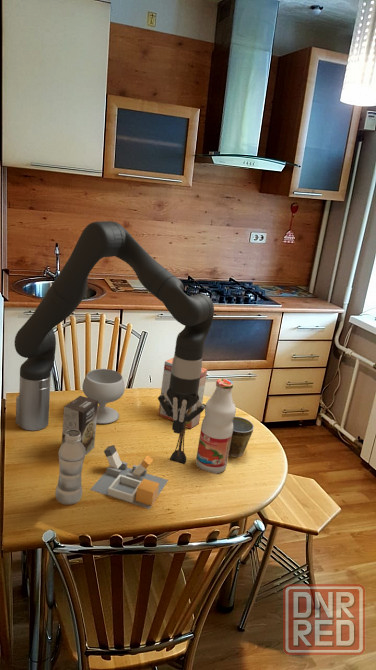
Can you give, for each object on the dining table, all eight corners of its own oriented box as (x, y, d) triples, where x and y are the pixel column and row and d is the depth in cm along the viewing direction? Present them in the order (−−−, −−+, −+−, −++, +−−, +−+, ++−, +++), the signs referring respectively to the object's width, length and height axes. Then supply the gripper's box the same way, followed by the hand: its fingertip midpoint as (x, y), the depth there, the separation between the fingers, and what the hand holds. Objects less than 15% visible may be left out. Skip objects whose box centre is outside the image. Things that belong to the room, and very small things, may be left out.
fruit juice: (232, 468, 157) (248, 385, 148) (210, 478, 151) (225, 391, 142) (210, 453, 164) (224, 372, 154) (189, 462, 157) (202, 378, 148)
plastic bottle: (57, 492, 136) (60, 425, 129) (83, 493, 137) (88, 427, 130) (52, 508, 130) (56, 438, 123) (80, 509, 131) (85, 441, 124)
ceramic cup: (254, 453, 167) (260, 426, 164) (235, 463, 160) (240, 435, 157) (223, 436, 175) (228, 409, 172) (204, 445, 168) (208, 417, 165)
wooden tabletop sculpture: (172, 467, 154) (181, 407, 147) (164, 459, 157) (172, 400, 151) (188, 463, 157) (197, 404, 150) (180, 455, 160) (189, 397, 154)
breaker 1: (111, 470, 145) (103, 451, 144) (116, 465, 147) (108, 446, 146) (117, 468, 144) (109, 449, 143) (122, 463, 147) (114, 444, 146)
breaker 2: (131, 473, 143) (143, 460, 141) (135, 468, 146) (147, 455, 143) (137, 478, 143) (149, 465, 140) (141, 472, 145) (153, 459, 143)
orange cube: (135, 500, 135) (137, 487, 134) (142, 491, 139) (143, 478, 138) (151, 505, 134) (153, 492, 133) (157, 496, 138) (159, 483, 137)
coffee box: (79, 462, 150) (82, 412, 145) (60, 455, 152) (63, 406, 146) (95, 447, 158) (99, 400, 153) (76, 441, 160) (80, 394, 155)
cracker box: (199, 423, 181) (208, 368, 174) (190, 429, 176) (199, 373, 169) (167, 409, 188) (174, 356, 181) (157, 415, 183) (164, 360, 176)
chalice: (88, 428, 168) (91, 387, 163) (74, 409, 179) (77, 369, 174) (128, 422, 175) (132, 382, 170) (112, 404, 186) (116, 365, 181)
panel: (89, 493, 137) (90, 483, 136) (112, 466, 150) (113, 457, 149) (149, 513, 133) (150, 502, 132) (167, 483, 146) (169, 474, 145)
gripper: (156, 370, 129) (148, 431, 135) (206, 383, 126) (197, 445, 131) (166, 361, 136) (159, 419, 142) (214, 373, 133) (205, 432, 138)
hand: (177, 431), depth 136 cm, fingers closed
